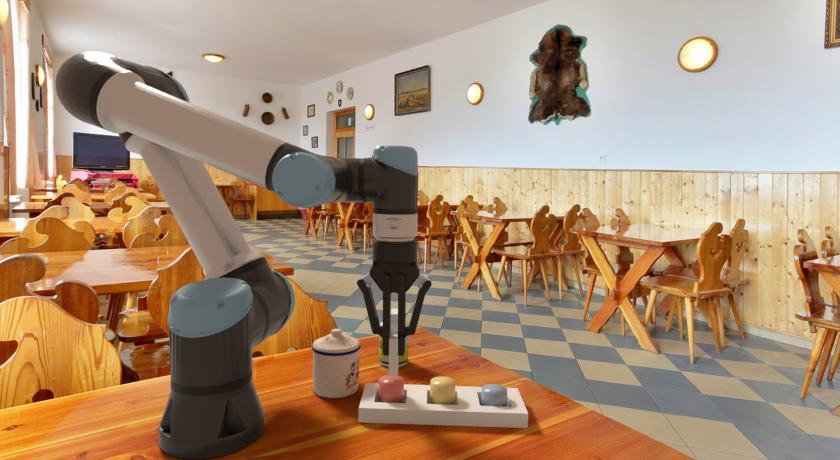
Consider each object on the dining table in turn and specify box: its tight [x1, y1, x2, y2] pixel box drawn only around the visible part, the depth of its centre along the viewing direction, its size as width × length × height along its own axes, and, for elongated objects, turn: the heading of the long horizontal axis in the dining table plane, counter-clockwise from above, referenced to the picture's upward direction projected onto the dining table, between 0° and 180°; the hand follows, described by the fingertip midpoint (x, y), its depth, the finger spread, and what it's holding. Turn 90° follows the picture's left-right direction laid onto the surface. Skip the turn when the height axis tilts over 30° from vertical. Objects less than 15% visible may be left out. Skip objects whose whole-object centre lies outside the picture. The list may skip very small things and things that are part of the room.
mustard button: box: [429, 376, 457, 405], centre depth 87 cm, size 4×4×4 cm
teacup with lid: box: [311, 328, 361, 399], centre depth 96 cm, size 12×9×12 cm
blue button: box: [480, 383, 507, 407], centre depth 87 cm, size 4×4×4 cm
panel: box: [357, 382, 529, 429], centre depth 87 cm, size 28×10×2 cm, turn 89°
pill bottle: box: [378, 308, 410, 368], centre depth 109 cm, size 6×6×12 cm
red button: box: [378, 374, 405, 403], centre depth 87 cm, size 4×4×4 cm
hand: (393, 372), depth 87 cm, fingers closed
